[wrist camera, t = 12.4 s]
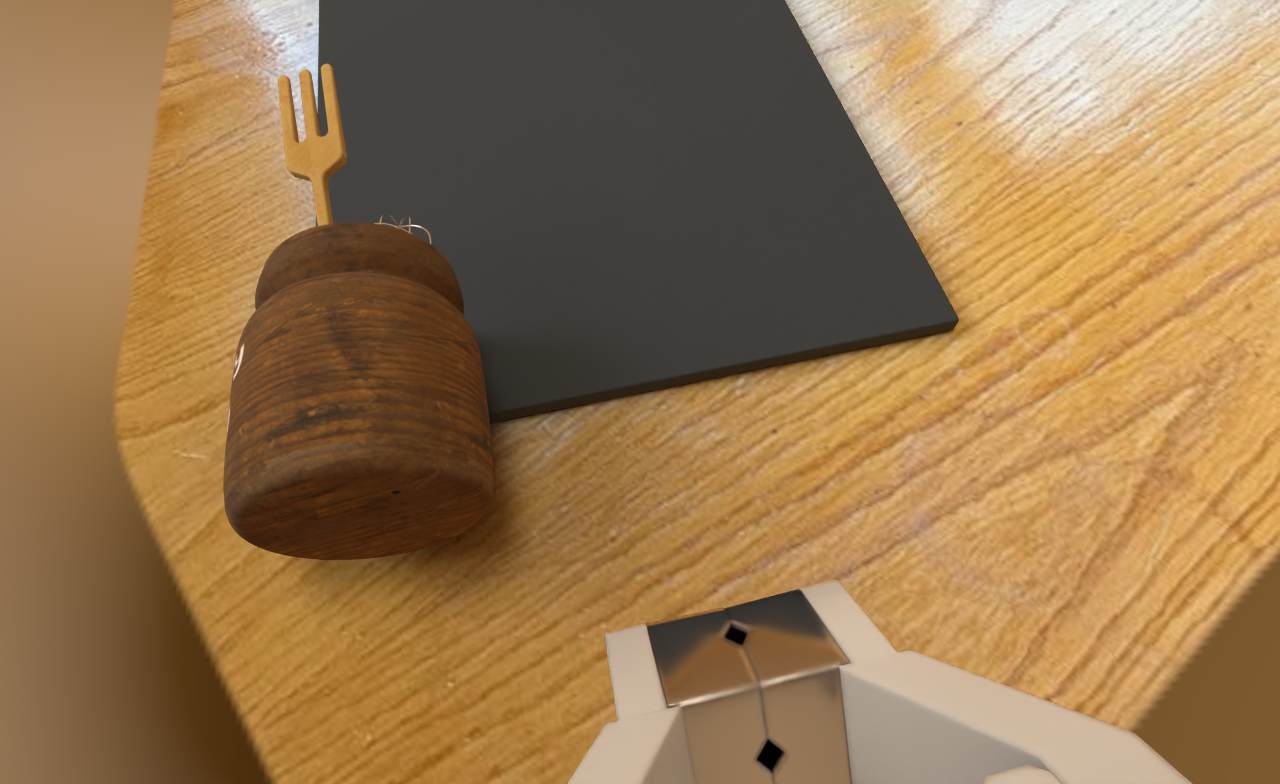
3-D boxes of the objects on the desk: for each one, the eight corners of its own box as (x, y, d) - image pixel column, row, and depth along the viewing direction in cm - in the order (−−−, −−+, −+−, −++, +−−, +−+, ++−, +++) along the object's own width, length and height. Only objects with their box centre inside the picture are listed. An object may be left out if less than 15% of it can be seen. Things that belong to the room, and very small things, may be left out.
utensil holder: (529, 529, 19) (486, 203, 25) (434, 431, 13) (407, 40, 19) (316, 582, 19) (324, 245, 25) (135, 507, 13) (200, 97, 19)
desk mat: (320, 458, 21) (311, 449, 20) (325, -131, 39) (320, -143, 38) (953, 330, 23) (960, 319, 22) (681, -177, 40) (681, -189, 40)
